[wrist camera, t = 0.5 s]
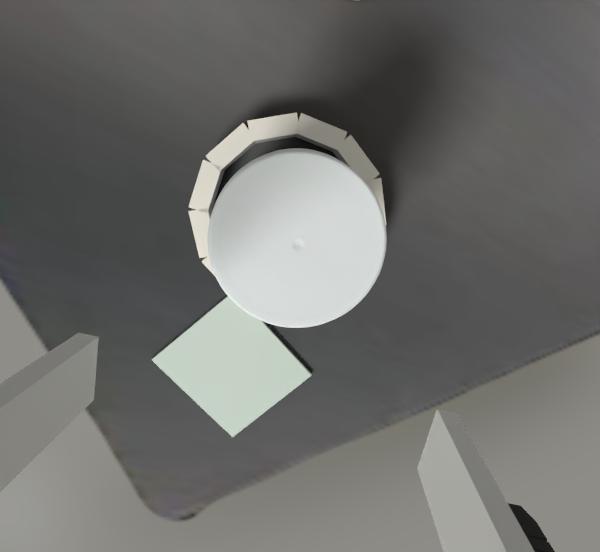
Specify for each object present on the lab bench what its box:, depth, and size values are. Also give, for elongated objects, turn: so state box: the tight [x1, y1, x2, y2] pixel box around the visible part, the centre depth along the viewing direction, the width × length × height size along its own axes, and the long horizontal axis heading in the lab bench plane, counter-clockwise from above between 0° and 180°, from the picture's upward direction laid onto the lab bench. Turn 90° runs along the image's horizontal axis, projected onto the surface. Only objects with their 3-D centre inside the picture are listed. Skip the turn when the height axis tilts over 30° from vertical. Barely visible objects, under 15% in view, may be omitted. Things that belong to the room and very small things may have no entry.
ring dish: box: [188, 112, 386, 277], centre depth 33 cm, size 16×16×2 cm
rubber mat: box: [152, 296, 312, 437], centre depth 37 cm, size 10×11×1 cm
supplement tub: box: [207, 148, 387, 328], centre depth 27 cm, size 10×10×15 cm
